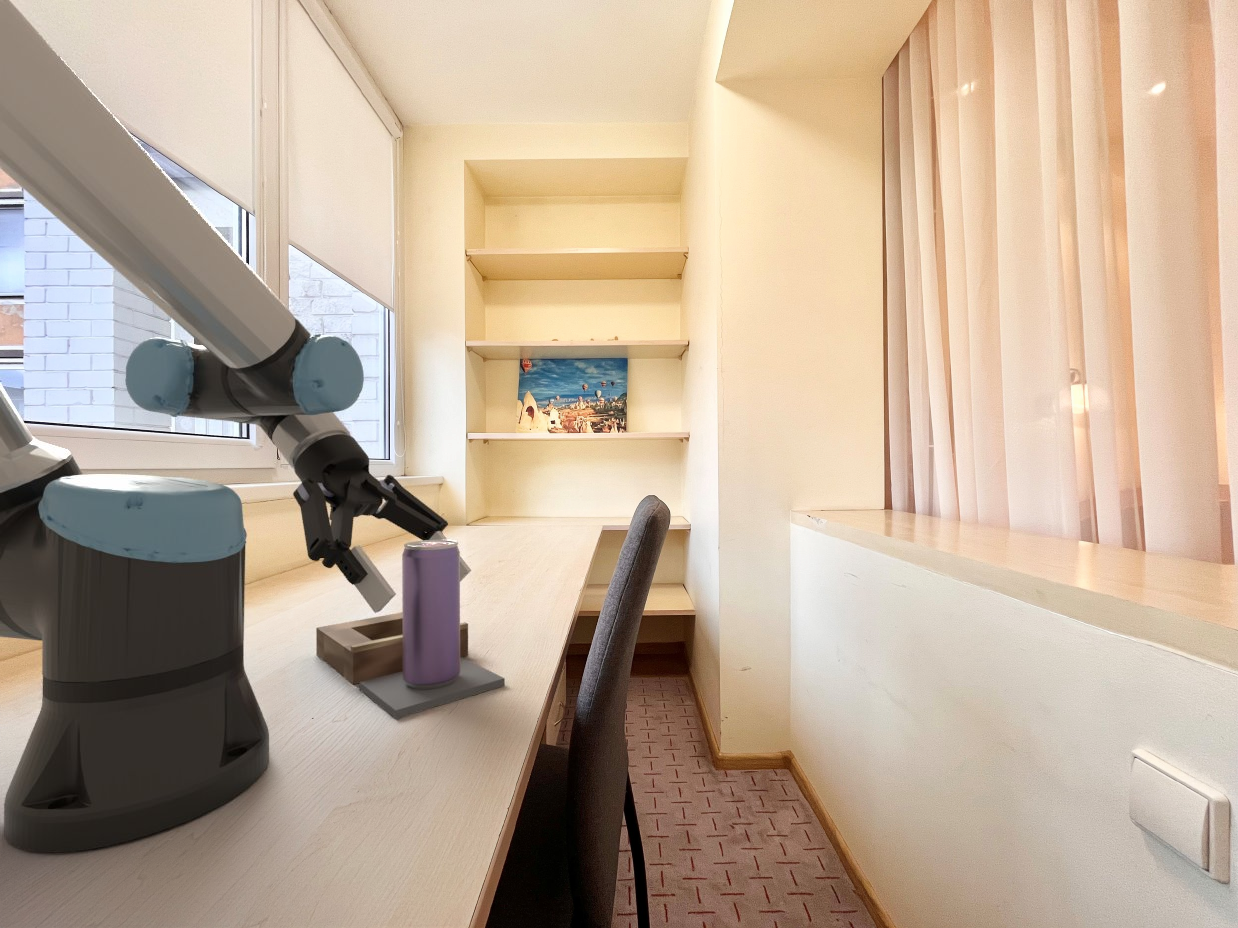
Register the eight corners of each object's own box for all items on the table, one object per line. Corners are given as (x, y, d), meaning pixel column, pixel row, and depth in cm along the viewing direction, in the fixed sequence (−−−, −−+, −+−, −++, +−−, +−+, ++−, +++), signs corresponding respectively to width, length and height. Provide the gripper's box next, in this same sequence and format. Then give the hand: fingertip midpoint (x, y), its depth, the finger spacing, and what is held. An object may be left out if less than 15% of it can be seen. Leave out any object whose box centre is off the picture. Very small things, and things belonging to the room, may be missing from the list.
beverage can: (450, 691, 59) (449, 546, 59) (393, 690, 59) (392, 546, 59) (467, 670, 65) (466, 539, 65) (415, 670, 65) (414, 539, 65)
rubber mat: (395, 718, 54) (395, 710, 54) (359, 689, 62) (359, 681, 62) (504, 685, 62) (504, 678, 63) (461, 663, 70) (461, 656, 70)
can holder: (353, 684, 63) (353, 647, 63) (316, 654, 73) (316, 622, 73) (468, 655, 73) (468, 623, 73) (421, 632, 83) (421, 604, 83)
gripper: (379, 473, 81) (469, 588, 76) (202, 477, 57) (318, 643, 52) (411, 436, 79) (505, 551, 74) (242, 423, 55) (366, 591, 51)
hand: (428, 589), depth 63 cm, fingers open, 13 cm apart
